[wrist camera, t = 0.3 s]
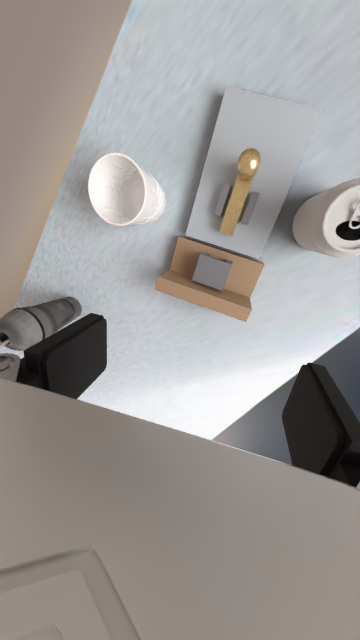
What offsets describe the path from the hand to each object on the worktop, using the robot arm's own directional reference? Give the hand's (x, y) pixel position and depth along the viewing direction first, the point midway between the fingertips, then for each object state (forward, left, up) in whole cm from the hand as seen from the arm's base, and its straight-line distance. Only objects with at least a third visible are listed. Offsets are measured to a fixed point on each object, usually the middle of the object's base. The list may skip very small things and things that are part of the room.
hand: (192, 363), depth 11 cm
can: (-10, +10, -30) cm, 33 cm away
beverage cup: (+18, -28, -30) cm, 45 cm away
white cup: (-6, -16, -30) cm, 35 cm away
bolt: (-10, -2, -28) cm, 29 cm away
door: (-7, -2, -30) cm, 31 cm away
